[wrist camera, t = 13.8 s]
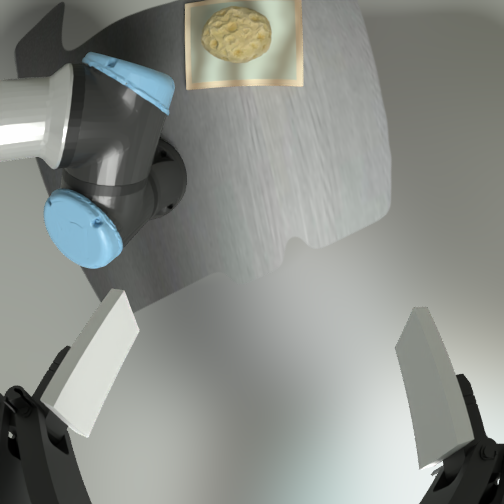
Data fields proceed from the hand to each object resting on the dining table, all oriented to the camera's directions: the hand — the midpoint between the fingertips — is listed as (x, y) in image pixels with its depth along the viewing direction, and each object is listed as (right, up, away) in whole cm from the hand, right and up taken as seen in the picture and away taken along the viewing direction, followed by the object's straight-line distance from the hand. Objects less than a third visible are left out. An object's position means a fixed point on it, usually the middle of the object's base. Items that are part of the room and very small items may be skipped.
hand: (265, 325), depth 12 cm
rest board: (-2, +36, +22) cm, 42 cm away
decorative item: (-2, +35, +21) cm, 41 cm away
